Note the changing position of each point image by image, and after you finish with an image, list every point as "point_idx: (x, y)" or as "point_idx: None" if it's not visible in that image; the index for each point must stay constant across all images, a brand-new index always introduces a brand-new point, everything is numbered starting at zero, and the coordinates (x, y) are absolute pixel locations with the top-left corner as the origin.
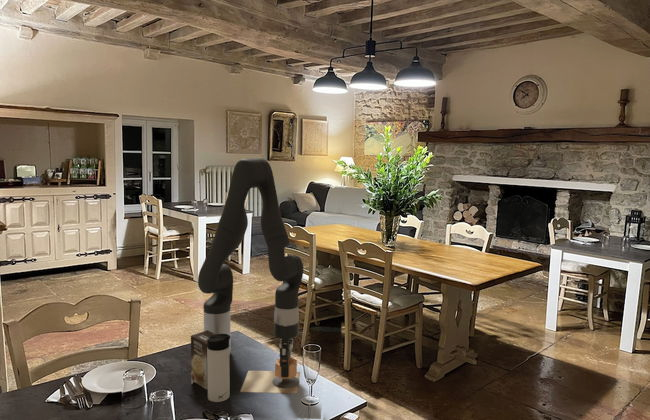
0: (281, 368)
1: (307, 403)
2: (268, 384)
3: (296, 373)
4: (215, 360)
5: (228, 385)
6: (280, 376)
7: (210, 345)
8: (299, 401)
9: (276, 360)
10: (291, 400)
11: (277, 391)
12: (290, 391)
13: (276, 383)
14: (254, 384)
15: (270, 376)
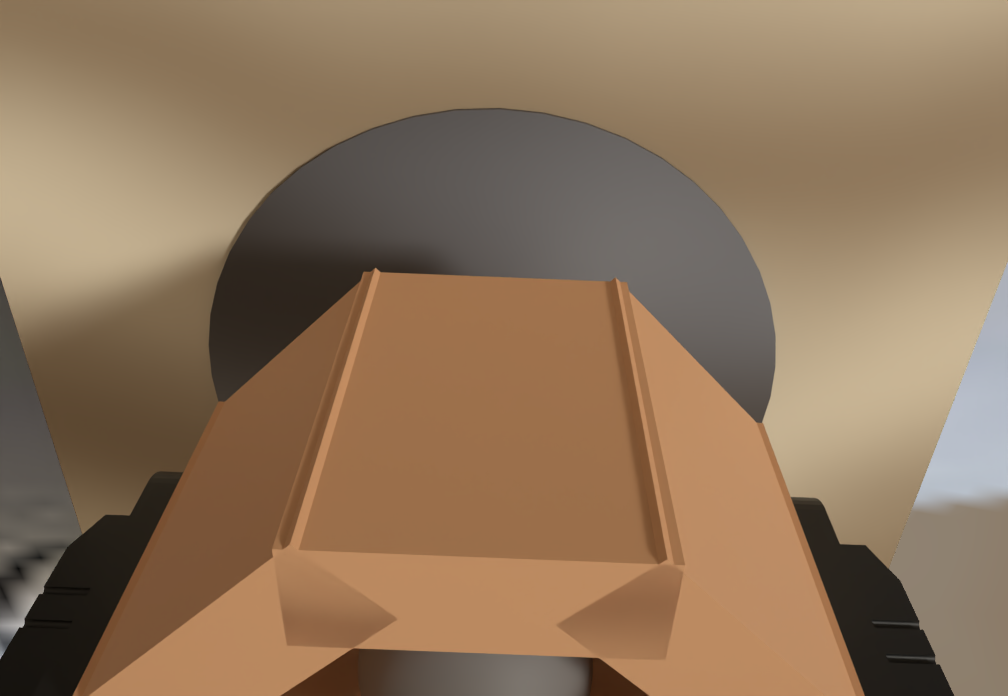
0: (50, 673)
1: (24, 606)
2: (331, 19)
3: (835, 531)
4: None
5: None
6: (199, 440)
7: None
8: (41, 525)
9: (575, 570)
10: (31, 430)
11: (50, 254)
12: (120, 469)
13: (385, 212)
14: None
15: (780, 26)
